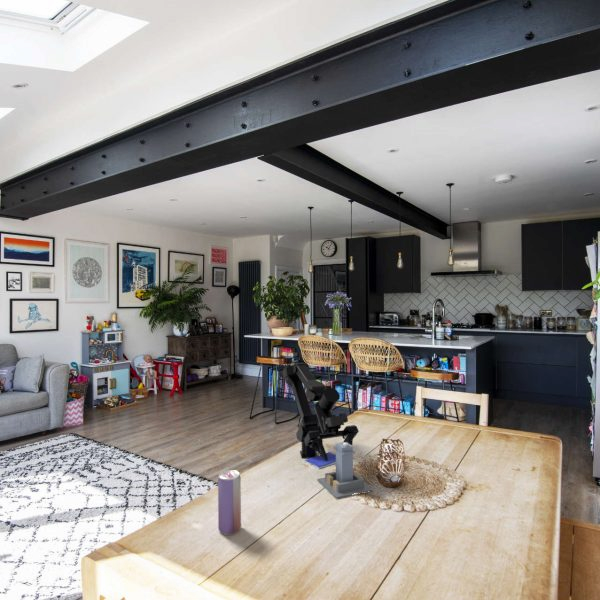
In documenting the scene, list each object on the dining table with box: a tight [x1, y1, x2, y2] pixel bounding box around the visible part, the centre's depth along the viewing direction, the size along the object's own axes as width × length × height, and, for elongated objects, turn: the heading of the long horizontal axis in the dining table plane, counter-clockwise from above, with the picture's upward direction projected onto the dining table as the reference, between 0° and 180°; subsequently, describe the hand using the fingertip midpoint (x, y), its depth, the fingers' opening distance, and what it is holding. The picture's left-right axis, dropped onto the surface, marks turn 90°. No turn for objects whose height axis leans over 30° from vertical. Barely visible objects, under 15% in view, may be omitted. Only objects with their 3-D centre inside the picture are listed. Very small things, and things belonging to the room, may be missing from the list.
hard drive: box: [303, 451, 336, 470], centre depth 163 cm, size 2×8×12 cm
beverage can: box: [217, 469, 242, 536], centre depth 116 cm, size 6×6×15 cm
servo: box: [333, 442, 356, 483], centre depth 142 cm, size 7×4×14 cm, turn 22°
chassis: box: [316, 471, 374, 500], centre depth 142 cm, size 14×13×3 cm
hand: (339, 458), depth 145 cm, fingers open, 9 cm apart
